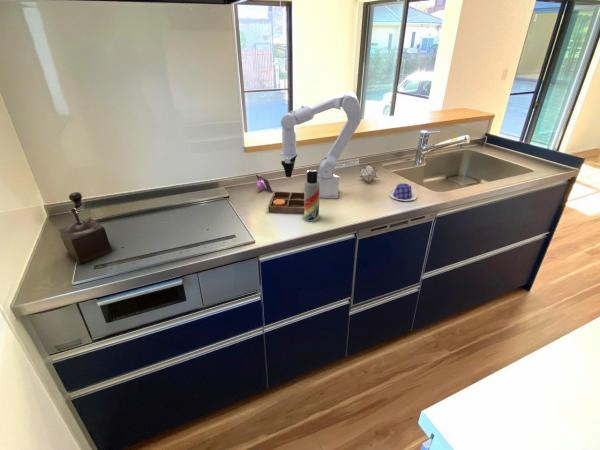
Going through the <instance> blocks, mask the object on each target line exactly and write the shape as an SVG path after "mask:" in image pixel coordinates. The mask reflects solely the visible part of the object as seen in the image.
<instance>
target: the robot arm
mask: <svg viewBox="0 0 600 450" xmlns="http://www.w3.org/2000/svg"><path fill="white" fill-rule="evenodd" d="M300 106H301V107H300V108H296V109H295V110H292V109H291V110H290V111H289V112H286V113H284V114H283V116H282V118H281V120H280V125H281V131H282V132H281V140H282V141H281V142H282V143H281V144H282V151H281V152H279V156H282V157H283V158H284V160H281V161H280V163H281V166H282V168H283V171H284V174H285V177H286V178H291V177H292V175H293V171H294V168H295V163H296V159H297V157H298V153H297V132H296V126H299V125H301V124H305V123H307V122H309V121H311V120H313V119H314V117H315V115H317V114H320V113H323V112H326V111H328V110H331V109H335V110H340V111H341V108H342V110H343V111H344V113H345V114H346V118H347V120H346V122H345V124H344V125H343V127H342V128H341V131H340V133H339V134H338V136H337V138H336V139H335V141H334V143H333V145H332V146H331V148H330V150H329V152H328V153H327V154H326V155H325V157H323V158H322V159H321V160H320V161H319V168H318V173H317V181H319V183H320V192H319V199H321V198H322V199H338V198H339V192H340V188H339V185H340V184H339V183H340V176H339V175H335V168H336V166H337V163H338V161H339V160H340V157H341V155H342V154H343V152H344V151H345V149H346V147H347V145H348V144H349V142H350V141H351V138H352V137H353V135H354V134H355V132H356V130H357V128H358V127H359V125H360V123H361V119H362V117H361V104H360V102H359V98H358V96H357V94H356V93H355V92H353V91H346V92H344V93H339V94H336V95H334V96H332V97H330V98H328V99H325V100H324V101H321V102H319V103H317V104H314V105H313V106H311V105H309V104H307V105H305V104H302V105H300Z"/></svg>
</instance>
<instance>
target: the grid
mask: <svg viewBox="0 0 600 450" xmlns="http://www.w3.org/2000/svg"><path fill="white" fill-rule="evenodd" d="M276 199H282V200H284V201H285V207H283V206H273V201H274V200H276ZM268 213H270V214H293V215H294V214H295V215H304V191H303V192H302V191H301V192H300V191H276V190H275V191H273V192H272V196H271V199H270V201H269V204H268Z"/></svg>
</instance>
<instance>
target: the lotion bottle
mask: <svg viewBox="0 0 600 450" xmlns="http://www.w3.org/2000/svg"><path fill="white" fill-rule="evenodd" d="M303 186H304V187H303V188H304V189H303V192H304V214H303V217H304V220H305V221H307V222H317V221H319V218H320V198H319V192H320V183H319V181H318V170H317V169H309V170H306V180H305V181H304V185H303Z"/></svg>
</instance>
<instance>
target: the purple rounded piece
mask: <svg viewBox="0 0 600 450" xmlns="http://www.w3.org/2000/svg"><path fill="white" fill-rule="evenodd" d="M255 176H256V179H257V183H256V188H257V189H258V190H259V191H258V192H259V193H261V191H262V190H263V189H265V190H267V191H268V192H270V193H273V189H272V186H271V185H270V182H269V180H268V179H267V178H265V177H262V176H261V175H259V174H255Z"/></svg>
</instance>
